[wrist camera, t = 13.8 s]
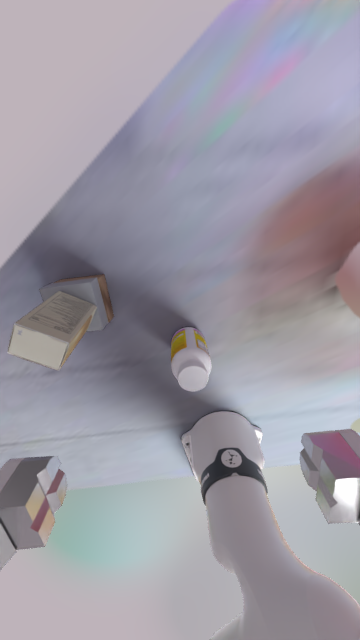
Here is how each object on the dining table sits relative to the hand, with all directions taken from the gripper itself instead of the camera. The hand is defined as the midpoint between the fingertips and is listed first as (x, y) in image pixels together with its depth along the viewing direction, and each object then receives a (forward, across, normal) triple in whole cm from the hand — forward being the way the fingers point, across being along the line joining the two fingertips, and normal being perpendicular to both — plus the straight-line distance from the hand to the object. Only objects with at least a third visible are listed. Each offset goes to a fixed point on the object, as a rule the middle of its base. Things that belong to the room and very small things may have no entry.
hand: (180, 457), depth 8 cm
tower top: (+35, +17, +4) cm, 39 cm away
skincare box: (+32, +16, +4) cm, 36 cm away
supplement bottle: (+38, -1, +14) cm, 41 cm away
